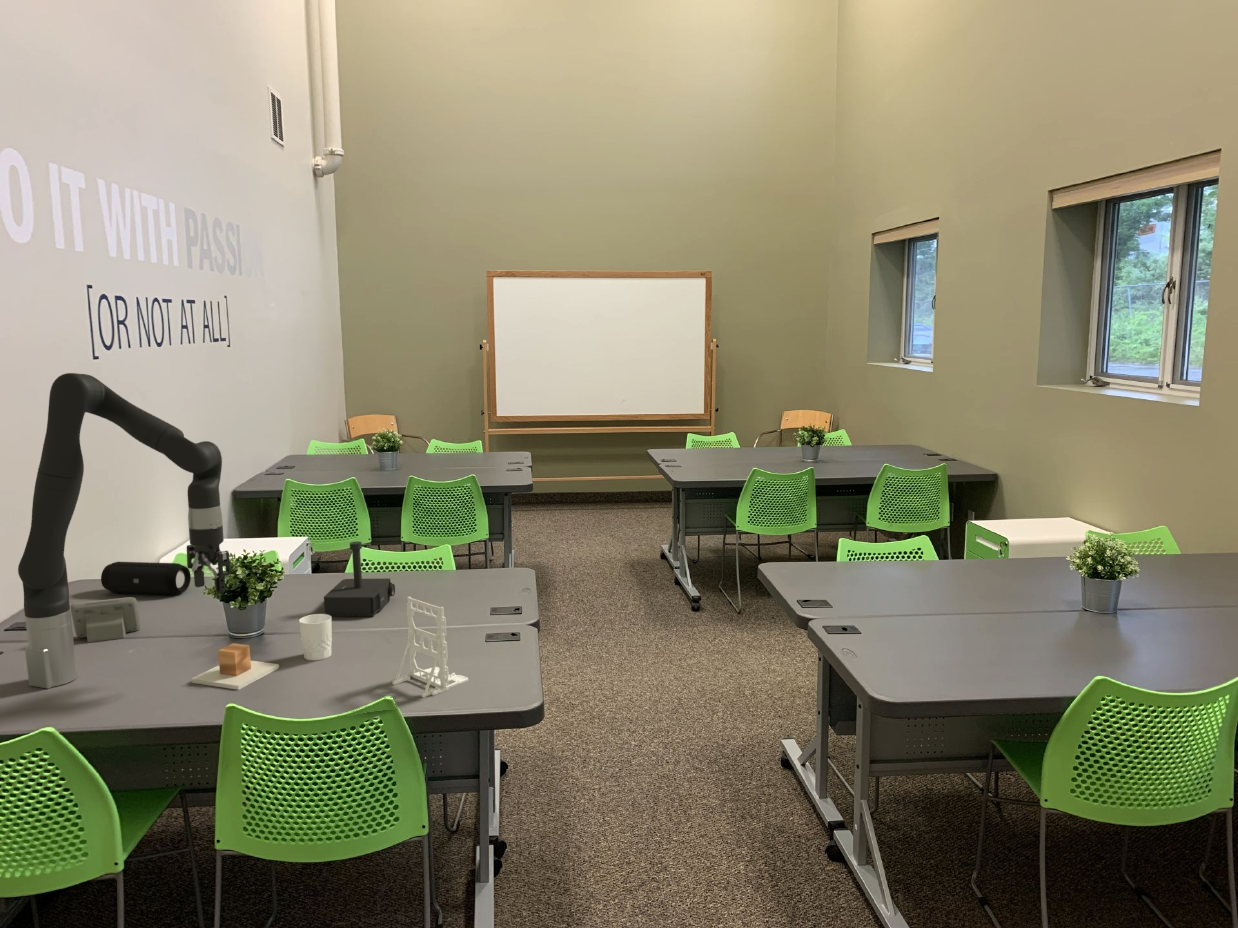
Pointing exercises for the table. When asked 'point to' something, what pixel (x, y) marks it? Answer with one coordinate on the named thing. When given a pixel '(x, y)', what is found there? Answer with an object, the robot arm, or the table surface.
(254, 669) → the pad
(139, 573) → the portable speaker
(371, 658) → the table surface
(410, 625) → the film strip holder
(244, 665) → the orange block
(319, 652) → the white cup
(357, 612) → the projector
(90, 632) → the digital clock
